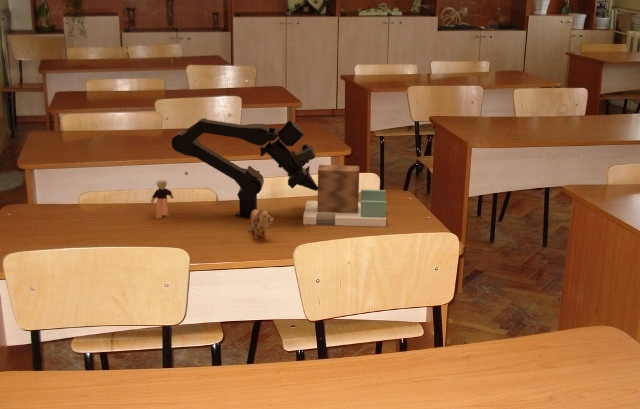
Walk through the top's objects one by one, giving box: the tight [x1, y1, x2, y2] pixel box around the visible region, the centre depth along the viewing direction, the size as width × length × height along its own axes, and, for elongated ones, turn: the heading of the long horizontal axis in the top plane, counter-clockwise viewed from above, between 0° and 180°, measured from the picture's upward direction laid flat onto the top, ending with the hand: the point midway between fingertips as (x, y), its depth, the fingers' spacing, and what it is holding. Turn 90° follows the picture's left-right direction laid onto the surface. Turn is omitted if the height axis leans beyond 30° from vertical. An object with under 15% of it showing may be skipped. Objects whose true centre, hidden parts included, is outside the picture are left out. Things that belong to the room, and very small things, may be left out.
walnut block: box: [317, 164, 360, 213], centre depth 252 cm, size 13×6×14 cm, turn 87°
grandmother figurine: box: [150, 178, 174, 219], centre depth 252 cm, size 8×4×13 cm, turn 137°
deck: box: [302, 189, 388, 228], centre depth 254 cm, size 26×16×8 cm, turn 87°
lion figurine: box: [248, 209, 275, 240], centre depth 239 cm, size 15×5×9 cm, turn 26°
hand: (317, 189), depth 253 cm, fingers closed
